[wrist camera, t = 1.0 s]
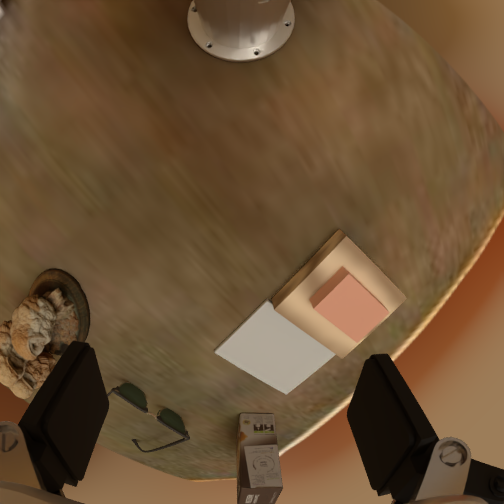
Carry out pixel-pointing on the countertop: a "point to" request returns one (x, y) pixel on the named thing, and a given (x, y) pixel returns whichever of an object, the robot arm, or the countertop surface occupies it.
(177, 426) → the sunglasses
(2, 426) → the robot arm
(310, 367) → the mat
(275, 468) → the coffee box
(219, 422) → the countertop surface
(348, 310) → the salmon pink rectangular block
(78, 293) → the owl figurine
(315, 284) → the plate
